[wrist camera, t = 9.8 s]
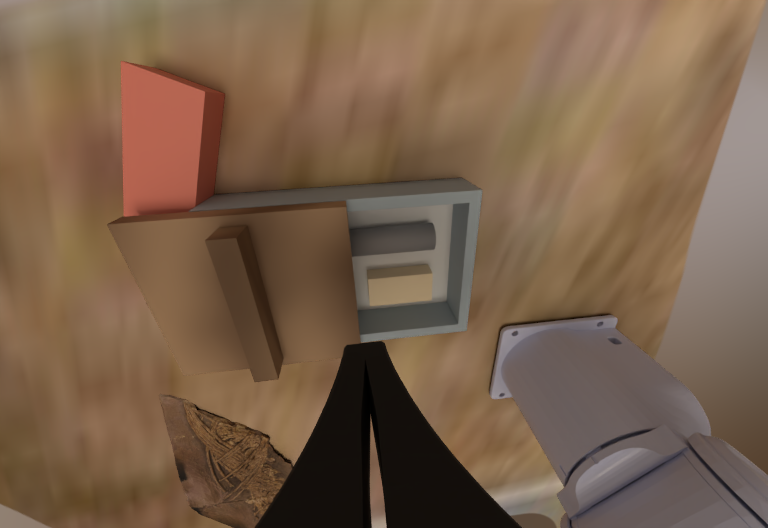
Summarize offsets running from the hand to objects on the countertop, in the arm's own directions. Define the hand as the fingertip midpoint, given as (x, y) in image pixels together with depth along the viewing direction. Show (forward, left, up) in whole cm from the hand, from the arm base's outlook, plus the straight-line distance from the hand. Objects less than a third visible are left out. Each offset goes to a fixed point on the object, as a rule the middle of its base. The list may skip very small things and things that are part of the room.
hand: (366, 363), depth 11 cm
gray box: (+1, 0, -9) cm, 9 cm away
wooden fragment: (+14, +23, -10) cm, 29 cm away
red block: (+9, -6, -10) cm, 14 cm away
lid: (+5, 0, -6) cm, 8 cm away
